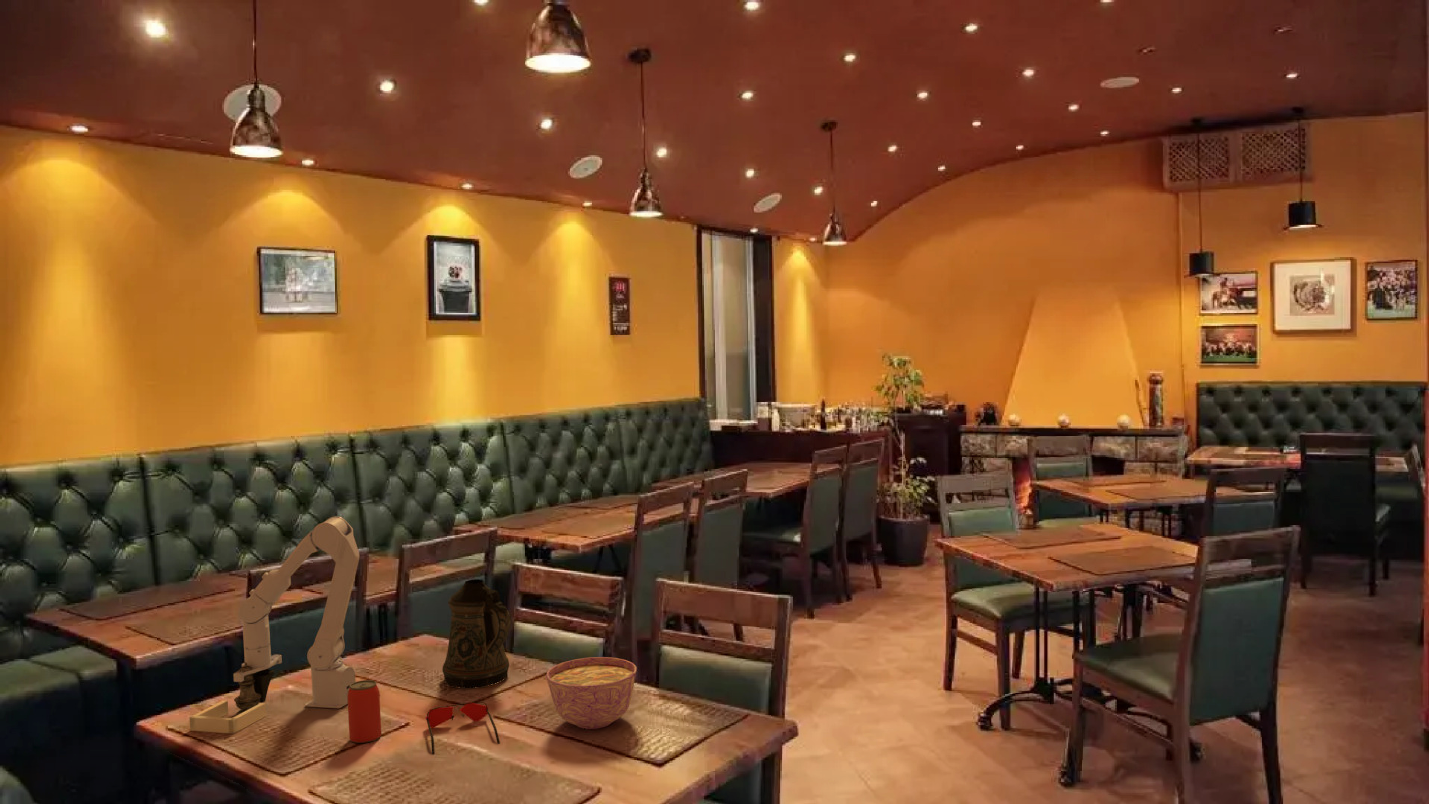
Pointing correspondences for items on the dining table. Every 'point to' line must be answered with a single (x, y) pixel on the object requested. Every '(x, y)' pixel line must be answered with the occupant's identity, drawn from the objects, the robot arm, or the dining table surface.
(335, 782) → the dining table surface
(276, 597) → the robot arm
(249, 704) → the dark bronze turned piece
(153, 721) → the dining table surface
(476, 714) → the glasses
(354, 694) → the beer can
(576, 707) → the bowl of food
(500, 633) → the beer stein
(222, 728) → the holder
